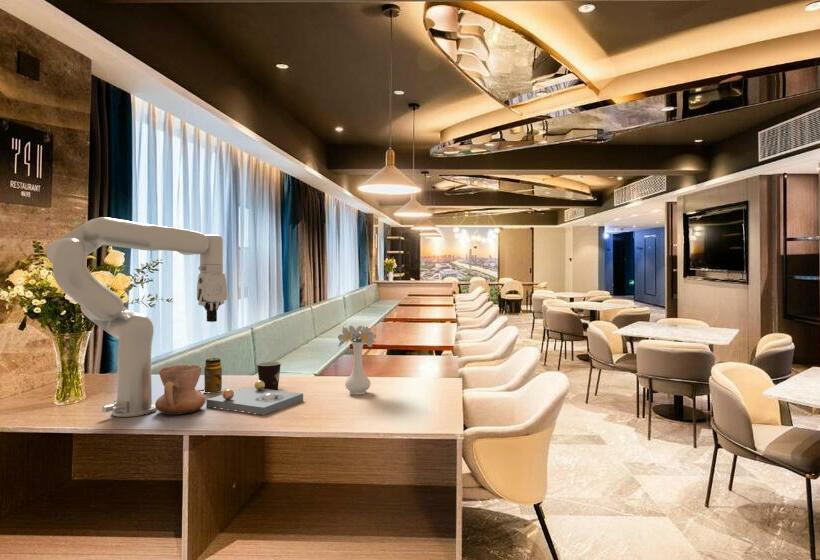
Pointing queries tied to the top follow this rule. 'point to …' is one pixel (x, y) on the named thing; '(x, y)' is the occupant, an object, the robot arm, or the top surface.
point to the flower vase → (357, 357)
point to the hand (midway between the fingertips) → (211, 321)
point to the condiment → (212, 375)
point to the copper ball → (228, 394)
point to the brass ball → (259, 385)
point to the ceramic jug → (180, 389)
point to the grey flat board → (256, 400)
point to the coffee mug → (269, 374)
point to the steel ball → (269, 397)
